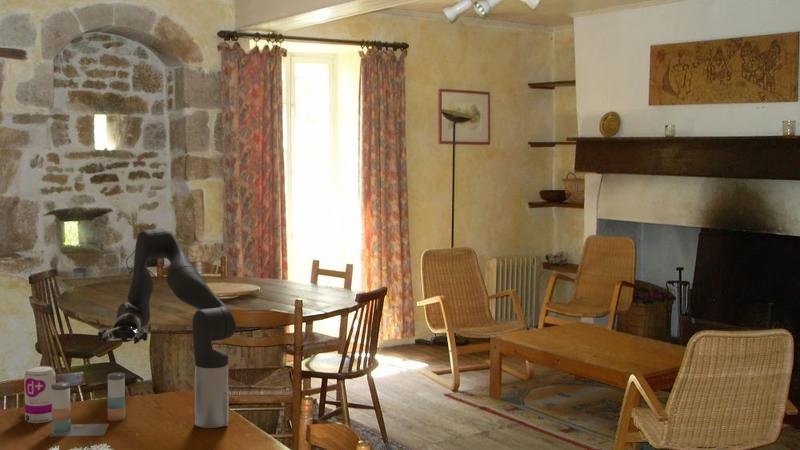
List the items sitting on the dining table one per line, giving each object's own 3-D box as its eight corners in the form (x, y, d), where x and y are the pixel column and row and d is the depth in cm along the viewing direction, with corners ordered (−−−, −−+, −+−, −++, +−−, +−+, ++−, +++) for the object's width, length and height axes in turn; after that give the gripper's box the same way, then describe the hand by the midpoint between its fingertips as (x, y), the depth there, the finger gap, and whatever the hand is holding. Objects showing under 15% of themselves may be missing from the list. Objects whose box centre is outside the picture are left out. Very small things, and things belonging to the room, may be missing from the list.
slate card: (109, 425, 257) (109, 423, 257) (103, 437, 247) (103, 435, 247) (57, 426, 255) (57, 424, 255) (49, 438, 245) (49, 436, 245)
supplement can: (45, 426, 255) (44, 373, 254) (18, 423, 257) (18, 371, 255) (61, 417, 263) (61, 366, 262) (35, 415, 265) (35, 364, 263)
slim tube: (126, 417, 264) (126, 372, 263) (123, 422, 260) (123, 376, 258) (109, 417, 264) (108, 372, 262) (106, 423, 259) (106, 377, 258)
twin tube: (72, 429, 251) (72, 382, 250) (68, 435, 246) (68, 386, 245) (54, 429, 250) (53, 382, 249) (50, 435, 245) (49, 387, 244)
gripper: (103, 315, 284) (95, 328, 268) (150, 315, 287) (145, 328, 271) (103, 338, 285) (95, 352, 269) (150, 338, 288) (145, 352, 272)
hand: (120, 340), depth 270 cm, fingers open, 8 cm apart
